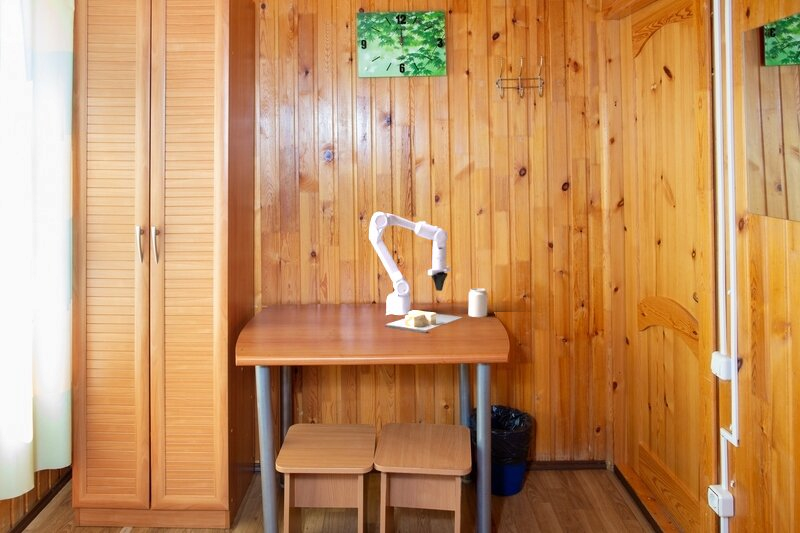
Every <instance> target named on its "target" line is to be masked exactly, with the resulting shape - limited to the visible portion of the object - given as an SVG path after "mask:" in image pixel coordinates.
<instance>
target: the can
mask: <svg viewBox="0 0 800 533" xmlns="http://www.w3.org/2000/svg"><path fill="white" fill-rule="evenodd" d="M468 316H469V317H473V318H486V317H487V316H488V292H487V291H486V288H482V287H474V288H470V291H469V292H468Z"/></svg>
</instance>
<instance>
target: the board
mask: <svg viewBox="0 0 800 533" xmlns="http://www.w3.org/2000/svg"><path fill="white" fill-rule="evenodd" d="M462 318H463V316H456V315H450V314H441V313H436V323H435V324H433V325H426V324H423V325H420V326H417V327H414V328H413V327H407V326H405V318H401V319H399V320H395V321H392V322H388V323H386V324H385V328H386V327H387V328H388V329H394V330H400V331H407V332H413V333H414V332H415V333H419V334H428V333H430V331H428V330H430V329H433V328H434V329H435V328H437V327H439V326H440V327H441V326H442V325H443V326H444V325H445V324H448V323H451V322H454V321H457V320H459V319H462Z"/></svg>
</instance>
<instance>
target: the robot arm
mask: <svg viewBox="0 0 800 533" xmlns="http://www.w3.org/2000/svg"><path fill="white" fill-rule="evenodd" d="M387 226H390V227H391V226H399V227H402V228H406V229H408V230H412V231H414V233H415V235H416V236H419V237H420V238H421V237H422V238H424V239H426V240H429V241H431V240H432V252H431V253H432V263H431V265H432V266H431V267H432V268H430V269H428V270H427V276H431V278H432V280H433V283H434V287H435V290H436V292H437V291H439V292H441V291H443V289H444V284H445V280H446V279H447V278H448V277H447V276H448V275H449V274H448V273H447V272H451V266H447V241H448V239H449V237H448V233H447V231H446V230H444V229H442V228H440V227H438V225H435V226H433V225H432V224H428V222H427V221H419V222H414V221H410V220H409V219H406V218H404V217H401V216H398V215H396V214H392V213H385V212H382V211H377V212H374V214H373V215H372V217H371V219H370V223H369V233H368V239H369V241H370V242H371V244H372V246H373V249H374V250H375V252H376V254H377V255H378V257H379V259H380V260H381V263H382V264H383V266H384V268H385V270H386V271H387V273H388V276H389V277H390V279H391V280H392V286H393V289H394V291H393V292H392V293H389V294H388V296H387V298H386V314H385V316H387V315H397V316H406V315H409V312H410V311H411V292H410V291H411V285H410V283H409V281H408V280H407V279H406V277H404V276H403V275H402V273H401V271H400V270H399V268H398V265H397V264H396V262H395V261H394V259H393V257H392V255H391V253H390V252H389V249H388V248H387V246H386V244H385V243H384V242H385V241H384V240H383V238H382V237H383V234H384V231H385V229H386V228H387Z"/></svg>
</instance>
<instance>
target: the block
mask: <svg viewBox="0 0 800 533" xmlns="http://www.w3.org/2000/svg"><path fill="white" fill-rule="evenodd" d="M436 314H437V312H433V311H432V312H431V311H423V310H414V309H413V310H410V312H409V314H407V315H404V319H405V326H407V327H413V328H414V327H417V326H420V325H423V324H426V325H433V324H435V323H436Z"/></svg>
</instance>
